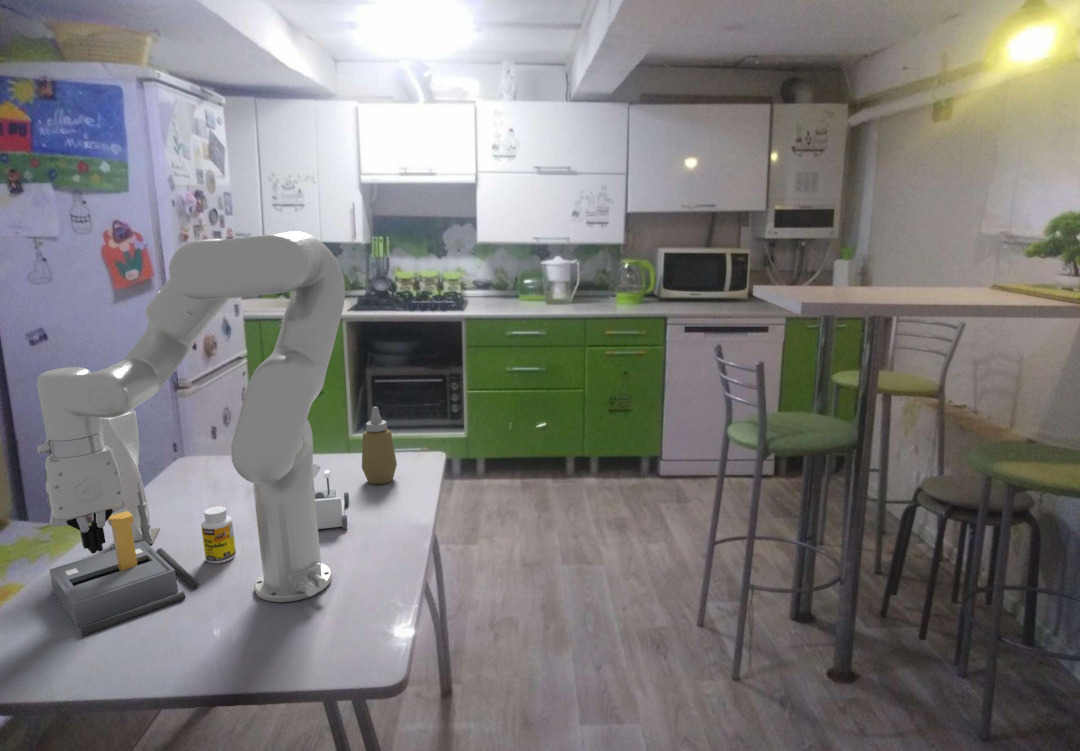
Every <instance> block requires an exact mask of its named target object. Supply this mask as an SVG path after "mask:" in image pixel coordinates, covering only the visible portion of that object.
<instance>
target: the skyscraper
mask: <svg viewBox="0 0 1080 751" xmlns="http://www.w3.org/2000/svg"><path fill="white" fill-rule="evenodd" d="M137 420H138V419H137V413H136V410H135V409H132V410H130V411H129V412H127V413H125V414H124V415H121V416H119V417H114V418H100V421H101V427H102V433H103V439H104V445H106V446H108V447H110V448H111V449H112V452H113V454H114V457H115V460H116V463H117V466H118V470H119V473H120V477H121V481H122V485H123V490H124V496H125V500H124V502H125V504H126V506H125V507H124V508H122V509H120V510H118V511H116V512H114V513H112V514H111V515H115V514H119V513H122V512H126V511H128V512H129V513H131V514H132V515H133V520H134V522H133V523H131V527H132V533H133V540H134V544H135V543H139V542H142V541H145V542H146V543H147V544H148V545H149V546H152V545H153V544H154V543H155V540H156V538H157V537H158V534H159V532H160V531H161V528H160V527H155V528H152V527H151V520H150V511H149V507H148V506H149V505H148V499H147V496H146V495H147V494H146V491H145V487H144V484H143V480H142V476H141V474H140V471H139V459H140V440H139V428H138V421H137ZM111 532H112V534H113V531H112V530H111ZM112 538H113V540H114V537H113V536H112ZM151 544H152V545H151ZM113 549H114V550H115V543H114V542H113V545H112V547H111V551H112V550H113Z"/></svg>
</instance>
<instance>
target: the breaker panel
mask: <svg viewBox="0 0 1080 751" xmlns="http://www.w3.org/2000/svg"><path fill="white" fill-rule="evenodd" d="M134 546H135V552H136V559H137V566H134V567H131V568H128V569H125V570H122V571H119V567H118V561H117V555H116V549H115V550H112V549H111V550H108V551H106V552H103V553H99V554H96V555H92V556H90V557H87V558H83V559H80V560H76V561H73V562H69V563H66V564H63V565H61V566H60V565H59V566H56V567H54V568H50V569H49V568H48V569H49V570H48V571H49V575H50V581H51V586H52V591H53V593H54V592H55V593H54V594H55V596H56V595H57V596H56V598H57V599H58V598H59V599H58V600H59V602H60V601H61V602H60V603H61V605H62V604H63V605H62V606H64V607H63V608H64V610H65V609H66V610H65V611H66V613H67V612H68V613H67V614H68V615H70V616H69V618H72V619H71V621H72V622H73V621H74V622H73V623H74V625H75V627H76V628H80V627H83V626H86V625H89V624H92V623H95V622H98V621H101V620H104V618H105V619H106V618H109V617H112V616H115V615H118V614H120V613H123V612H126V611H129V610H132V609H135V608H137V607H140V606H143V605H146V604H149V603H151V602H154V601H157V600H160V599H163V598H165V597H168V596H171V595H174V594H177V593H179V588H178V583H177V582H178V581H177V573H176V572H175V570H174V569H173V568H172V567H171V566H170V565H169V564H168V563H167V562H166V561H165V560H164V559H163V558H162V557H161V556H160V555H159V554H158V553H157V552H156V551H157V550H155V549H154V548H153V547H152V545H148V544H147V543H146V542H145V541H142V542H139V543H135V544H134ZM88 623H89V624H88ZM85 624H86V625H85ZM82 625H83V626H82ZM79 626H80V627H79Z"/></svg>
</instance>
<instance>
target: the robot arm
mask: <svg viewBox="0 0 1080 751" xmlns="http://www.w3.org/2000/svg"><path fill="white" fill-rule="evenodd" d="M168 274H169V278H168V280H167V281H166V282H165V284H164V285H163V286H162V287H161V288H160V290H159V291H158V292H157V293H156V295H155V296H154V297H153V298H152V300H151V301H150V302H149V303H148V304H147V306H146V308H145V315H146V318H147V322H148V323H147V326H146V329H145V330H144V332H143V334H142V335H141V337H140V338H139V340H138V341H137V342H136V343H135V345H134V346H133V347H132V348H131V350H130V351H129V352H128V353H127V354H126V356H125V357H124V358H122V359H121V360H120V361H119V362H117V363H114V364H111V365H110V366H107V367H106V368H103V369H100V370H97V371H95V372H91V370H89V369H88V368H85V367H78V366H73V367H69V366H68V367H61V368H60V367H59V368H55V369H50V370H47V371H45V372H44V371H43V372H42V373H41V374H40V375H38V377H37V380H36V385H37V386H36V388H37V392H38V398H39V403H40V408H41V415H42V419H43V426H44V428H45V429H44V430H45V434H46V438H45V441H44V443H42V444H40V445H37V446H36V448H37V452H38V454H39V455H40V454H47V455H48V456H47V457H46V458H45V463H44V464H45V465H44V466H45V470H44V471H45V472H44V475H45V476H44V478H45V489H46V492H45V493H46V499H47V504H48V505H47V506H48V509H49V511H50V516H49V517H50V519H49V523H50V524H51V527H55V528H57V527H67V526H70V527H72V528H74V529H76V530H78V531H79V532H80V537H81V543H82V544H81V545H82V547H83V548H84V550H86V549H88V551H89V552H90V553H91V554H92V555H93V554H96V553H97V552H103V551H104V547H103V545H104V544H106V537H105V530H104V527H105V526H106V523H107V522H108V518H109V517H110V516H111V514H112V513H114V512H116V511H118V510H120V509H122V508H124V507H125V506H126V504H125V502H124V500H125V496H124V490H123V485H122V481H121V477H120V473H119V470H118V466H117V463H116V460H115V457H114V454H113V452H112V449H111V448H110V447H108V446H106V445H104V439H103V433H102V427H101V421H100V418H114V417H119V416H121V415H124V414H125V413H127V412H131V410H132V409H133V410H135V409H136V408H137V407H139V405H141V404H143V403H144V402H147V401H148V400H150V399H151V398H152V397H153V396H155V395H156V394H157V393H158V392H159V391H160V390H161V389H162V387H163V386H164V385H165V384H166V382H167V381H168V380H169V379H170V378H171V376H172V375H173V374H174V373H175V372H176V370H177V369H178V368H179V366H180V365H181V364H182V363H183V361H184V360H185V358H186V357H187V356H188V354H189V353H190V351H191V349H192V348H193V347H194V344H195V343H196V341H197V340H198V338H199V337H200V336H201V335H202V333H203V332H204V331H205V329H206V328H207V327H208V326H209V325H210V323H211V322H212V321H213V320H214V318H215V317H216V316H217V315H218V313H219V312H220V311H221V310H222V309H223V308H224V306H226V304H227V303H228V301H230V299H236V298H237V299H238V298H247V297H254V296H255V297H256V296H265V295H275V294H276V295H277V294H283V293H289V292H290V295H289V300H288V304H287V306H286V309H285V311H284V315H283V318H282V321H281V326H280V330H279V332H278V336H277V340H276V342H275V345H274V348H273V351H272V352H271V354H270V355H269V356H268V357H267V358H266V359H264V360H263V361H262V362H261V363H260V364H259V365H258V366H256V369H255V370H254V371H253V374H252V375H251V376H250V379H249V382H248V384H247V387H246V390H245V394H244V397H243V401H242V405H241V408H240V412H239V414H238V419H237V423H236V427H235V430H234V433H233V437H232V441H231V446H230V459H231V461H232V462H231V463H232V465H233V468H234V469H235V471H236V473H238V475H239V476H240V477H241V478H243V479H245V480H246V481H248V482H250V483H252V484H253V496H254V505H255V516H256V523H257V525H256V526H257V533H258V540H259V541H258V542H259V550H260V551H259V552H260V559H261V560H260V561H261V568H262V573H261V574H260V575H259V576H258V577H257V578H256V580H255V582H254V584H253V586H254V592H255V595H256V596H257V597H259V598H260V599H261V600H265V601H267V602H272V603H288V602H289V603H290V602H295V601H300V600H304V599H307V598H310V597H313V596H314V595H317V594H318V593H320V592H322V591H323V590H324V589H326V588H327V587H328V586H329V585H330V583H331V581H332V570H331V568H330V567H329V566H328V565H326V564H325V563H323V562H322V559H321V549H320V536H319V529H318V525H317V514H316V503H315V491H316V490H315V482H314V479H315V478H313V464H314V461H313V460H314V457H313V456H314V455H313V453H314V452H313V451H314V442H313V441H314V440H313V438H314V437H313V430H312V427H311V423H310V421H309V420H308V417H309V413H310V410H311V407H312V405H313V403H314V401H315V400H316V398H317V397H318V396H319V395H320V393H321V391H322V389H323V388H324V385H325V380H326V375H327V371H328V368H329V363H330V359H331V356H332V354H333V348H334V346H335V341H336V338H337V333H338V329H339V326H340V322H341V319H342V315H343V311H344V306H345V297H346V296H345V295H346V286H345V278H344V274H343V270H342V269H341V266H340V263H339V262H338V260H337V258H336V256H335V255H334V254H333V252H332V251H331V250H330V249H329V248H328V247H327V246H326V245H325V244H324V243H323V242H322V241H321V240H319V239H318V238H316V237H315V236H313V235H311V234H309V233H307V232H304V231H298V230H296V231H295V230H292V231H291V230H290V231H283V232H279V233H272V234H264V235H256V236H248V237H247V236H246V237H237V238H229V239H228V238H227V239H222V238H207V239H206V238H205V239H199V240H193V241H189V242H187V243H185V244H183V245H181V246H180V247H179V248H178V249H176V250H175V252H174V253H173V255H172V257H171V259H170V262H169V266H168ZM89 515H92V521H91V523H90V524H88V521H87V519H86V516H89Z"/></svg>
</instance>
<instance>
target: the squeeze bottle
mask: <svg viewBox="0 0 1080 751" xmlns="http://www.w3.org/2000/svg"><path fill="white" fill-rule="evenodd" d="M387 422H388V421H386V420H384V419H382V417H381V413H380V410H379V407H378V406H372V409H371V417H370V420H369V421H367V422H366V423H365V426H366V427H365V428H366V430H365V431H364V432H363V434H362V443H361V444H362V448H361V450H362V454H361V469H362V471H363V474H364V476H365V478H366V480H367V482H368V484H372V485H383V484H388V483H390V482H392V481H393V479H394V476H395V472H396V469H397V466H398V463H397V459H396V453H395V452H396V451H395V446H394V440H393V435H392V431H391V430H390V429H388V426H387V424H388V423H387Z"/></svg>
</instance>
